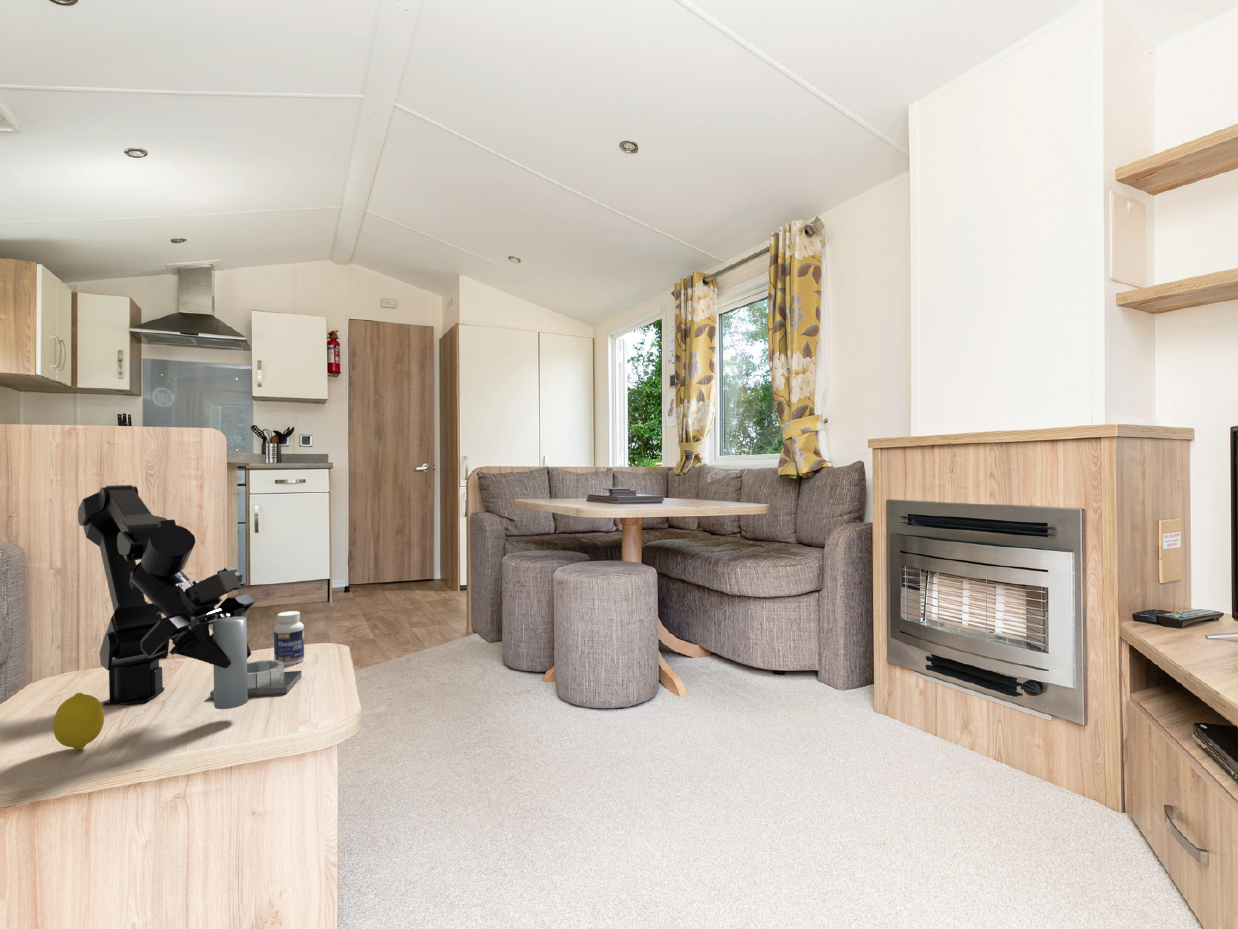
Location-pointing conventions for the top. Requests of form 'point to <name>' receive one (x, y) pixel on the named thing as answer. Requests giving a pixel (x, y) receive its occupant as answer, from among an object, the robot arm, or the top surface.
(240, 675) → the grey rounded cylinder
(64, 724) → the lemon
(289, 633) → the pill bottle
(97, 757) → the top surface
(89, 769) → the top surface
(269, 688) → the duct plate
